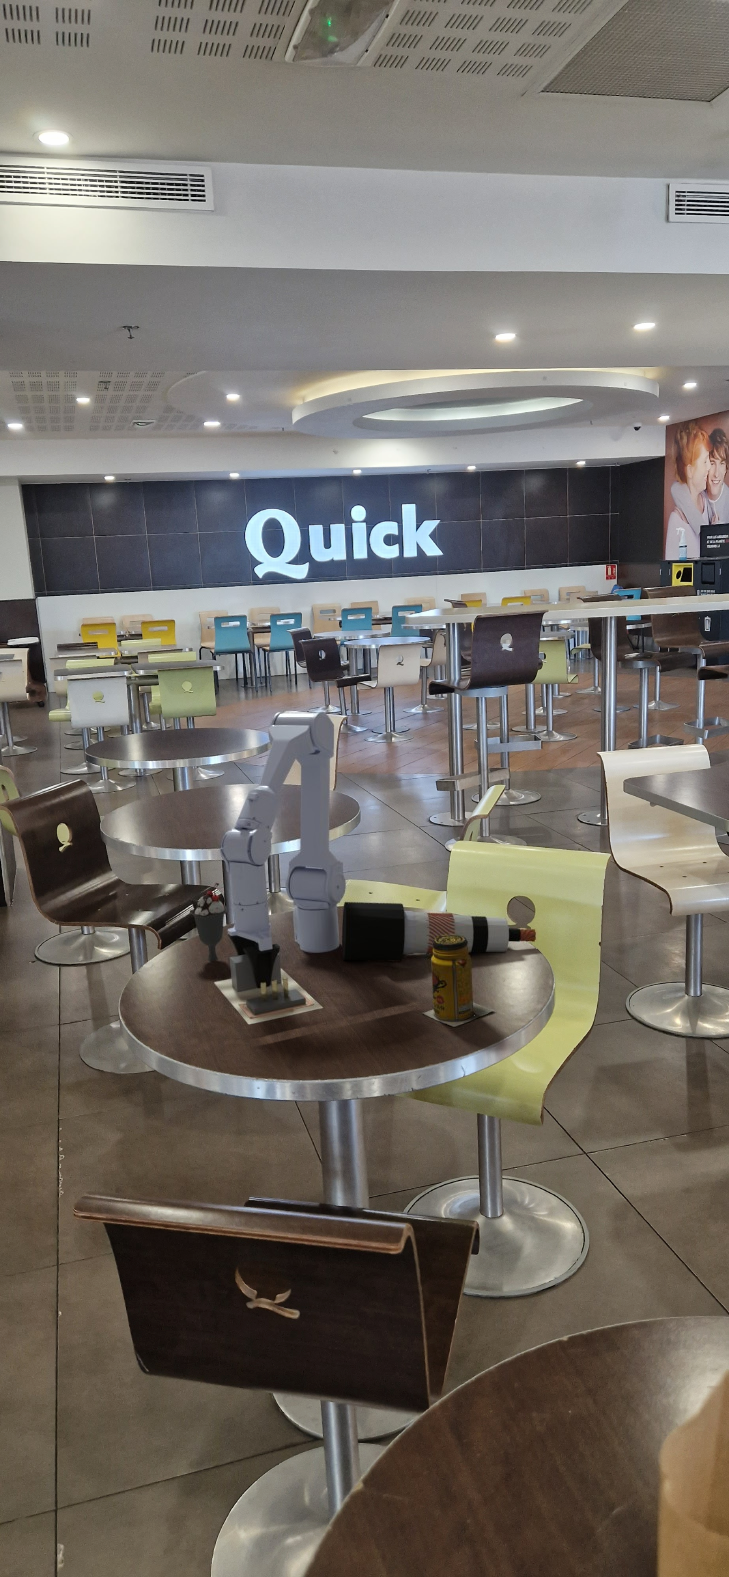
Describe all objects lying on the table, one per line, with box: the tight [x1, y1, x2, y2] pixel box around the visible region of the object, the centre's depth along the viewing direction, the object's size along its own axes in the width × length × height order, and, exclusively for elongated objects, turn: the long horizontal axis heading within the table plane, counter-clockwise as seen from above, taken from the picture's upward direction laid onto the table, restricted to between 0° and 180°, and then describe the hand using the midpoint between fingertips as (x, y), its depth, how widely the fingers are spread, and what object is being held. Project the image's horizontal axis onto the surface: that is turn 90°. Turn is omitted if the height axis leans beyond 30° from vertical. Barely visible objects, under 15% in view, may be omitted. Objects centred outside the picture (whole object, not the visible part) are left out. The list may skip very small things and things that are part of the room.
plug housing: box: [229, 953, 282, 992], centre depth 167 cm, size 3×8×5 cm, turn 114°
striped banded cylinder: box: [341, 901, 537, 962], centre depth 179 cm, size 10×34×10 cm, turn 94°
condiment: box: [422, 935, 495, 1027], centre depth 153 cm, size 7×8×12 cm
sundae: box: [189, 882, 228, 962], centre depth 180 cm, size 7×7×15 cm
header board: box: [213, 968, 324, 1025], centre depth 163 cm, size 20×12×5 cm, turn 24°
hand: (256, 979), depth 167 cm, fingers open, 7 cm apart
